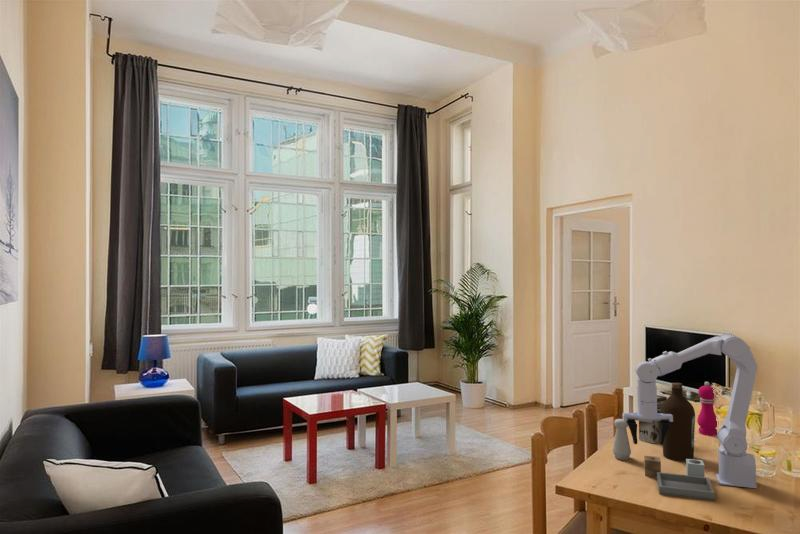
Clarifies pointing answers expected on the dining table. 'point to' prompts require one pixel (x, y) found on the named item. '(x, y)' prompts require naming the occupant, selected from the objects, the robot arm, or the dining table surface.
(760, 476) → the dining table surface
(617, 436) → the salt shaker
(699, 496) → the tray
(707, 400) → the pepper mill
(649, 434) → the coffee box
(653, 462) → the small bore block
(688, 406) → the olive oil
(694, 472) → the wide bore block
